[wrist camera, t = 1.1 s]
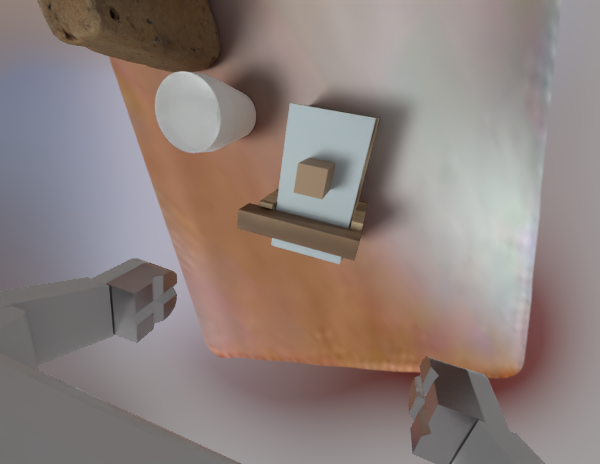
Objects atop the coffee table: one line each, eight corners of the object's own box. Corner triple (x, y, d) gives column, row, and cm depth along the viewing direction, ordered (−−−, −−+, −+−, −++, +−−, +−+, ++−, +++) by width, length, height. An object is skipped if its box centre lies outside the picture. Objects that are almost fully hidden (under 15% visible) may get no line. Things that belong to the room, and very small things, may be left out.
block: (225, 71, 42) (103, 37, 24) (182, 77, 44) (40, 49, 26) (213, -21, 38) (57, -145, 20) (166, -10, 40) (-13, -114, 22)
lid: (292, 103, 33) (275, 101, 28) (376, 118, 31) (373, 118, 26) (274, 241, 40) (257, 259, 35) (340, 260, 38) (333, 281, 33)
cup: (263, 148, 44) (223, 158, 34) (211, 142, 46) (158, 150, 36) (264, 83, 41) (220, 71, 30) (208, 80, 43) (148, 67, 32)
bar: (249, 203, 38) (238, 209, 35) (362, 231, 35) (359, 241, 32) (247, 220, 39) (237, 228, 36) (357, 249, 36) (354, 260, 33)
